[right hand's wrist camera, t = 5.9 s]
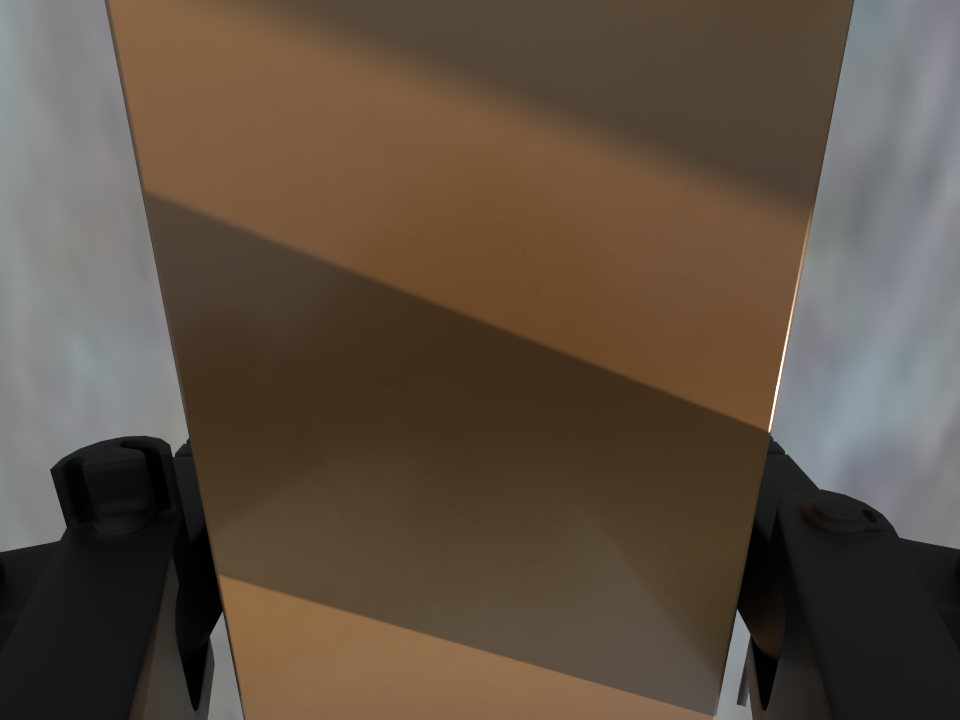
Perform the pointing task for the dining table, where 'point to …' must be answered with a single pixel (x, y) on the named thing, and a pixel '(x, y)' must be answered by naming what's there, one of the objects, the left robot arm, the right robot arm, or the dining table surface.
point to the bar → (479, 332)
